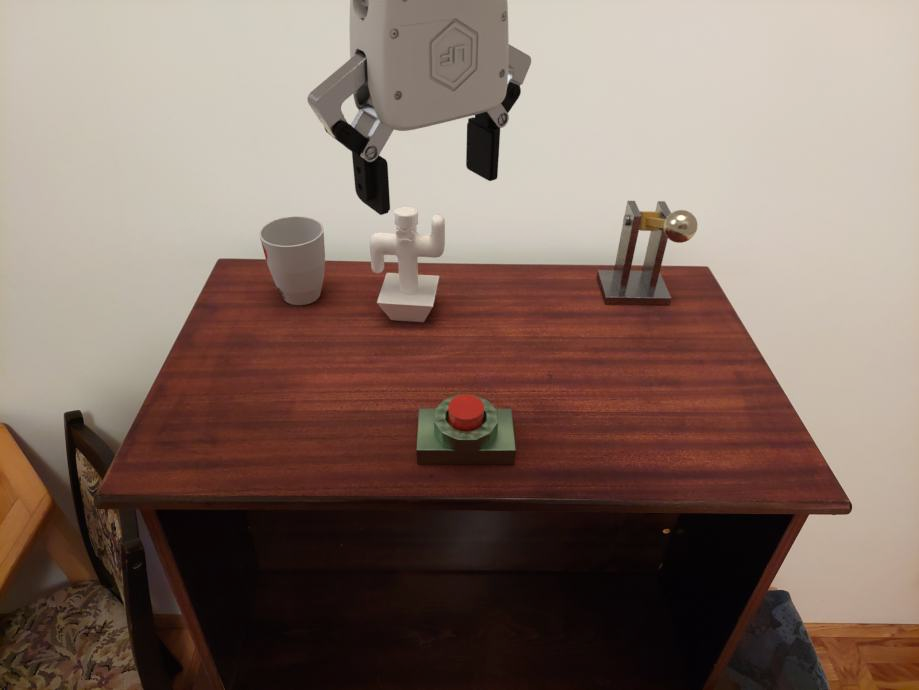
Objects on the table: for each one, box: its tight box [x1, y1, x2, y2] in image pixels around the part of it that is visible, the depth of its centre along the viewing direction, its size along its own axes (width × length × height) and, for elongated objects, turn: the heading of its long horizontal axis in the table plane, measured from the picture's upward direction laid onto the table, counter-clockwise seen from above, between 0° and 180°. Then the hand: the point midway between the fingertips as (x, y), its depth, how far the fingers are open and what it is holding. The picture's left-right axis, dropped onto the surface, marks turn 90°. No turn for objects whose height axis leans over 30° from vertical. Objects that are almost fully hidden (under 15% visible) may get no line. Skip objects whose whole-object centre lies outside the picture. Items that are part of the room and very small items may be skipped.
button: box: [448, 394, 484, 431], centre depth 65 cm, size 4×4×2 cm
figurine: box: [369, 206, 446, 323], centre depth 82 cm, size 7×9×15 cm
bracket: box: [596, 200, 672, 306], centre depth 88 cm, size 7×9×13 cm
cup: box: [258, 215, 326, 306], centre depth 86 cm, size 8×8×10 cm
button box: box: [415, 394, 517, 465], centre depth 67 cm, size 10×6×4 cm, turn 91°
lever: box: [639, 209, 698, 244], centre depth 78 cm, size 16×4×4 cm, turn 0°
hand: (430, 190), depth 48 cm, fingers open, 9 cm apart
